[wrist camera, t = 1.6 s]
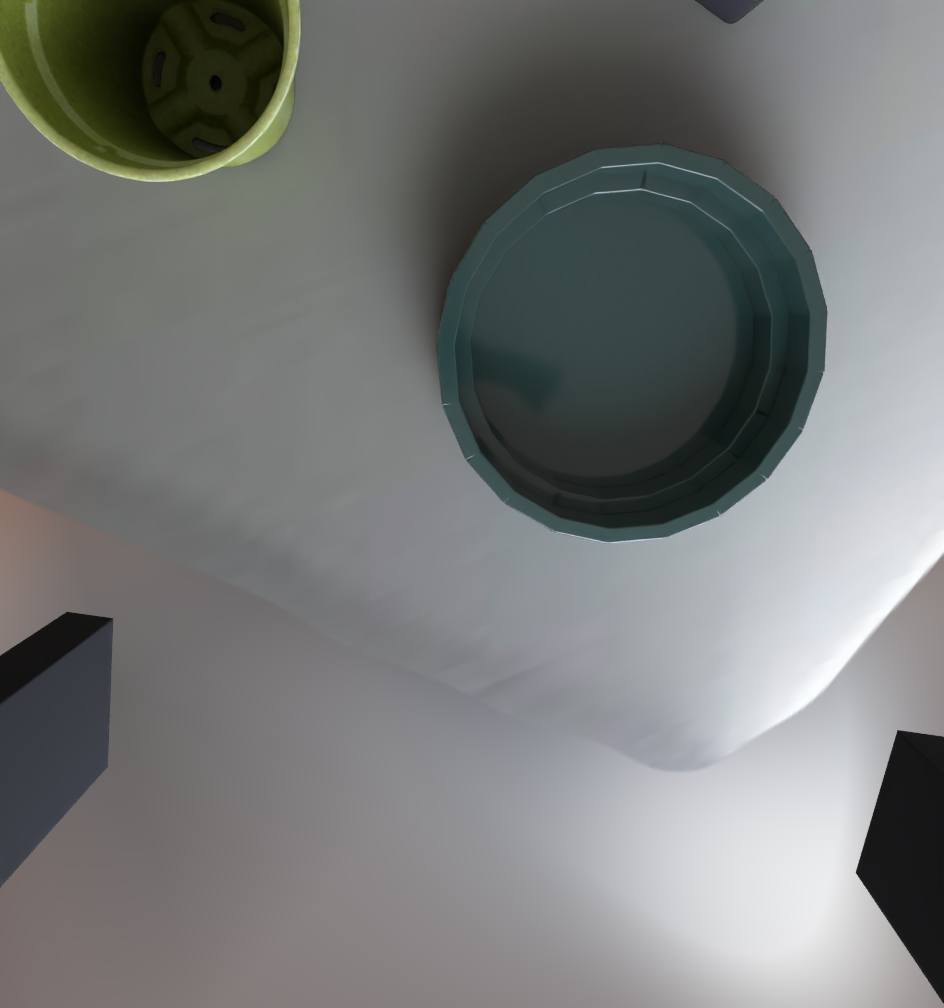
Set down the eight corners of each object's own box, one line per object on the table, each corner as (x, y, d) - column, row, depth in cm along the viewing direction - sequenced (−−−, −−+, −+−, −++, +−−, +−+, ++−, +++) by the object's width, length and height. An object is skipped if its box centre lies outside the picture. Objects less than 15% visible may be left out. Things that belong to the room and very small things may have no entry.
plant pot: (111, -81, 29) (-23, -228, 21) (355, -16, 30) (322, -132, 21) (91, 178, 31) (-35, 140, 23) (317, 230, 32) (274, 212, 24)
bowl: (560, 86, 31) (579, 55, 27) (846, 289, 34) (906, 290, 30) (376, 406, 35) (366, 424, 30) (650, 566, 37) (677, 603, 33)
